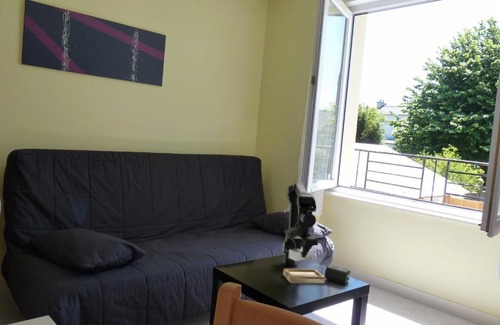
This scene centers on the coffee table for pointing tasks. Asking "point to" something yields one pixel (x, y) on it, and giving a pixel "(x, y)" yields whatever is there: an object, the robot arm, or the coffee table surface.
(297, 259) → the block
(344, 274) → the end cap
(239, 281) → the coffee table surface
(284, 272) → the beech stand
